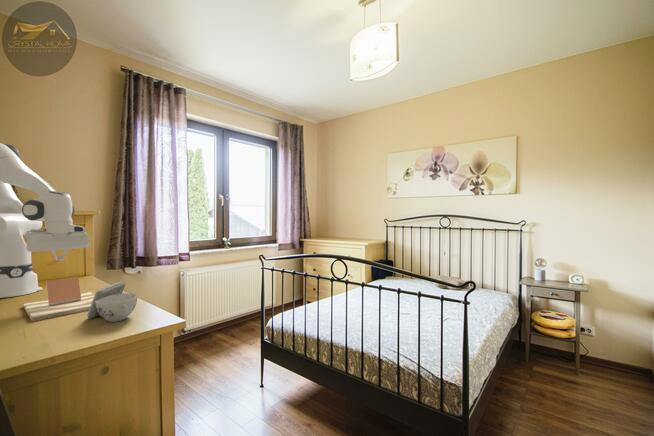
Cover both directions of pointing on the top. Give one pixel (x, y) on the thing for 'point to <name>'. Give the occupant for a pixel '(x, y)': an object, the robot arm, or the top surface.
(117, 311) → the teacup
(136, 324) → the top surface
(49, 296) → the tile
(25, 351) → the top surface
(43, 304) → the board
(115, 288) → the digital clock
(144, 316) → the top surface
